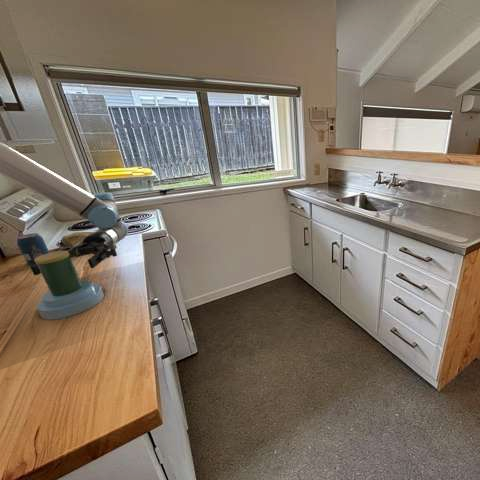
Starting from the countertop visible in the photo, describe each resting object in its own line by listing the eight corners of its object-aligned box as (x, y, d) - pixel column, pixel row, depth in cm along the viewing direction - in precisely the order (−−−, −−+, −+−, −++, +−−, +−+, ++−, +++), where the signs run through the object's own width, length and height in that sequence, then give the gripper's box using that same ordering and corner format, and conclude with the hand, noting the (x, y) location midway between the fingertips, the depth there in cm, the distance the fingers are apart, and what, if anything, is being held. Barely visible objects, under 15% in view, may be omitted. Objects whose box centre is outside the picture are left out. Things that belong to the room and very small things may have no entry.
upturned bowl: (34, 326, 67) (26, 311, 65) (47, 301, 78) (40, 287, 76) (102, 306, 74) (96, 292, 73) (105, 286, 85) (100, 273, 83)
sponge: (107, 249, 119) (97, 232, 130) (97, 236, 114) (89, 219, 125) (71, 263, 111) (65, 243, 123) (60, 249, 106) (54, 230, 118)
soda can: (42, 259, 107) (29, 232, 103) (57, 259, 107) (45, 232, 102) (23, 267, 101) (9, 239, 96) (40, 267, 100) (26, 238, 96)
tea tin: (48, 299, 70) (30, 263, 66) (54, 288, 75) (38, 254, 71) (81, 291, 74) (66, 256, 69) (84, 281, 79) (70, 248, 75)
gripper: (142, 246, 97) (117, 272, 78) (63, 255, 91) (15, 285, 72) (136, 227, 94) (108, 249, 75) (54, 235, 88) (2, 262, 69)
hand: (62, 267), depth 74 cm, fingers open, 13 cm apart
